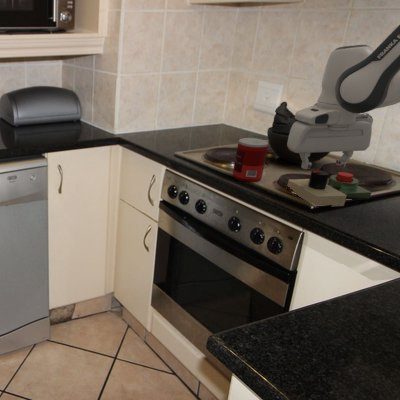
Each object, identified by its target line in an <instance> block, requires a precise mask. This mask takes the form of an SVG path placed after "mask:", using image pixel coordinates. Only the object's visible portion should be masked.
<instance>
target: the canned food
mask: <svg viewBox="0 0 400 400" xmlns="http://www.w3.org/2000/svg"><path fill="white" fill-rule="evenodd" d="M268 148H269V141H268V140H265V139H261V138H257V137H255V138H254V137H243V138H240V139H238V142H237V147H236V153H235V157H234V158H235V159H234V166H233V170H232V177H233V178H234V179H235V180H238V181H241V182H245V183H255V182H259V181H261V179H262V178H263V173H264V167H265V163H266V159H267V154H268ZM246 181H248V182H246Z"/></svg>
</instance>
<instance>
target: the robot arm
mask: <svg viewBox="0 0 400 400" xmlns="http://www.w3.org/2000/svg"><path fill="white" fill-rule="evenodd" d="M316 103H317V104H316ZM316 103H314V104H313V105H311V106H308V107H305V108H302V109H299V110H296V111H295V114H294V115H295V119H297V120H298V121H296V122H295V123H294V124H293V125H292V127H291V130H290V134H289V137H288V142H287V147H288V149H289V150H291V151H293V152H295V153H300V154H299V155H300V157H301V160H302V164H300V166H301V168H302V169H303V170H311V169H312V165H313V162H312V163H311V162H309V160H308V157H309V156H310V153H313V152H330V153H336V152H337V153H339V152H341V154H342V155H341V157H340V158H339V159H336V160H335V167H336V168H338V169H344V168H346V165H347V162H348V161H349V160H350V159H351V158H352V157H353V155H354V152H364V151H367V149H368V148H369V147H370V144H371V139H372V129H373V127H372V126H373V122H374V118H373V116H372V115H370V113H368V112H371V111H374V110H376V109H381V108H387V107H389V106H394V105H397V104H400V24H398V25H397V27H396V28H395V29H394V30H392V32H390V34H389V35H388V36H387V37H386V38H385V39H384V40H383V41H382V42H381V43H380V44H379V45H378V46H377V47H376V48H375V49H373V47H371V46H370V45H367V44H355V45H345V46H344V45H343V46H340V47H337V48H335V49H334V50H332V51H331V53H330V55H328V59H327V61H326V64H325V67H324V71H323V74H322V79H321V91H320V95H319V96H318V98H317V102H316Z"/></svg>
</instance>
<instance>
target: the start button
mask: <svg viewBox="0 0 400 400" xmlns="http://www.w3.org/2000/svg"><path fill="white" fill-rule="evenodd" d="M336 175H337V178H336V179H338V180H341V181H346V182H352V179H353V178H354V174H353V173H350V172H346V171H339V172H337V174H336Z"/></svg>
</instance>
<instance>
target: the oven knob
mask: <svg viewBox="0 0 400 400" xmlns="http://www.w3.org/2000/svg"><path fill="white" fill-rule="evenodd" d="M329 177H330V173H329V171H325V170H321V169H312V170H311V171H310V176H309V178H308V179H309V183H308V186H309V187H311V188H314V189H320V190H322V189H325V188H326V184H327V180H328V178H329Z"/></svg>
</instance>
